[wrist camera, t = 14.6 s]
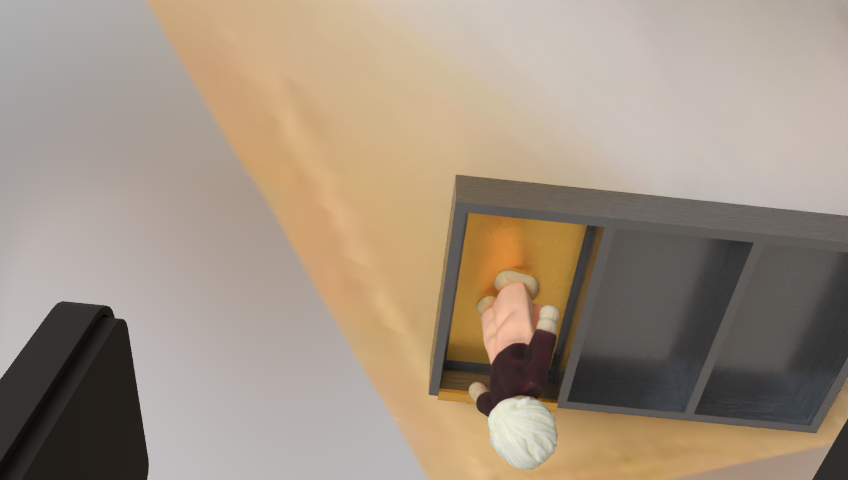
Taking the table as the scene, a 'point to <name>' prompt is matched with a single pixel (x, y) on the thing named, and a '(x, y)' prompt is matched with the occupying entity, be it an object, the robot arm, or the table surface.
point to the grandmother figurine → (517, 370)
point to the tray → (654, 302)
